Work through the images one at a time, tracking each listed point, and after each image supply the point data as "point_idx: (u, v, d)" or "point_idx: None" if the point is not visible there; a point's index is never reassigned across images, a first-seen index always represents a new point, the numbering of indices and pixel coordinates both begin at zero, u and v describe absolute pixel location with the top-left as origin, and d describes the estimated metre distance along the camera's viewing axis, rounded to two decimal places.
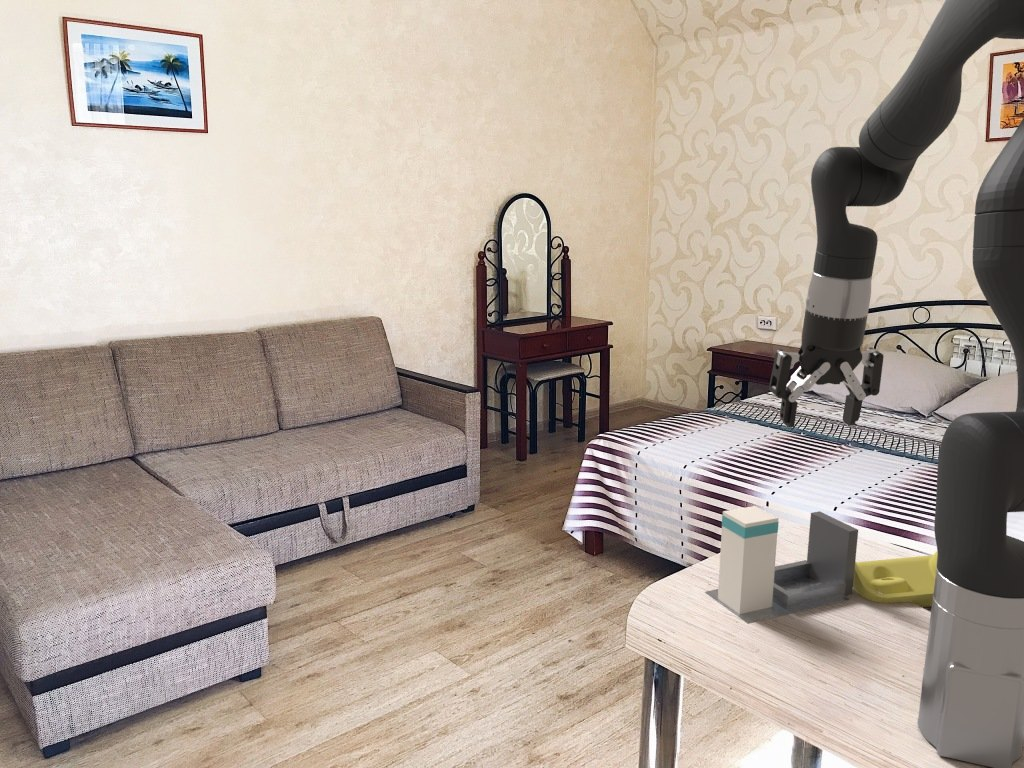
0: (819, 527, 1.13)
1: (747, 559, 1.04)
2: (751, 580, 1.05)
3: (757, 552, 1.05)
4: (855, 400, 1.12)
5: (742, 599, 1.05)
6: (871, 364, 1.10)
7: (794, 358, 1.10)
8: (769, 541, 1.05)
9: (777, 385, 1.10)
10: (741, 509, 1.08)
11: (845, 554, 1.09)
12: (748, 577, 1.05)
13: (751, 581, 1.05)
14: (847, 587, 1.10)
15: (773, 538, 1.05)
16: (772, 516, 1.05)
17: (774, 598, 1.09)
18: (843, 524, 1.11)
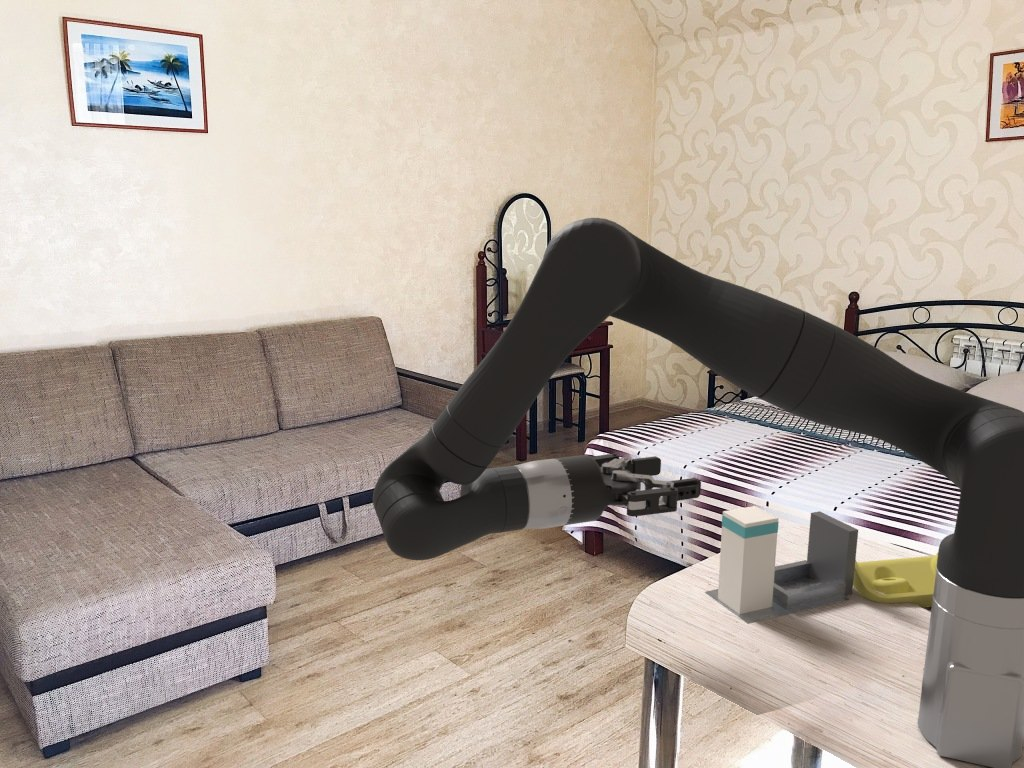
0: (819, 527, 1.13)
1: (747, 559, 1.04)
2: (751, 580, 1.05)
3: (757, 552, 1.05)
4: (633, 461, 1.03)
5: (742, 599, 1.05)
6: None
7: None
8: (769, 541, 1.05)
9: (666, 493, 0.92)
10: (741, 509, 1.08)
11: (845, 554, 1.09)
12: (748, 577, 1.05)
13: (751, 581, 1.05)
14: (847, 587, 1.10)
15: (773, 538, 1.05)
16: (772, 516, 1.05)
17: (774, 598, 1.09)
18: (843, 524, 1.11)
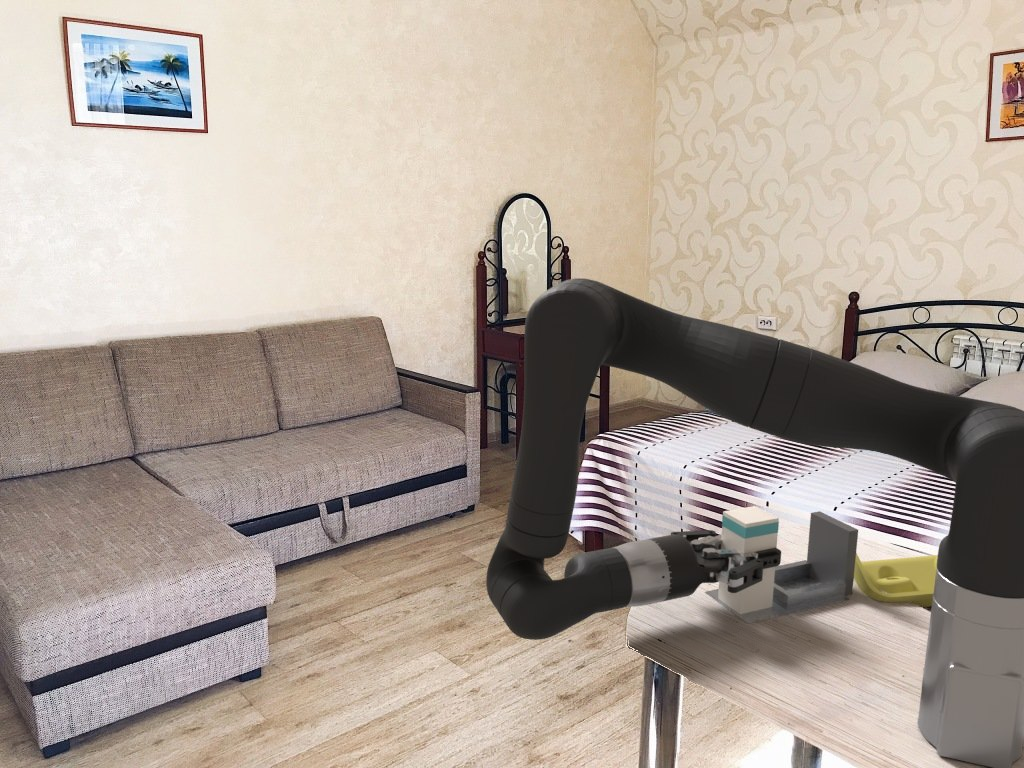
0: (819, 527, 1.13)
1: None
2: None
3: None
4: None
5: (742, 599, 1.05)
6: (684, 536, 1.09)
7: (724, 573, 1.00)
8: (769, 541, 1.05)
9: (756, 566, 1.01)
10: (741, 509, 1.08)
11: (845, 554, 1.09)
12: None
13: None
14: (847, 587, 1.10)
15: (773, 539, 1.05)
16: (772, 516, 1.05)
17: (774, 598, 1.09)
18: (843, 524, 1.11)
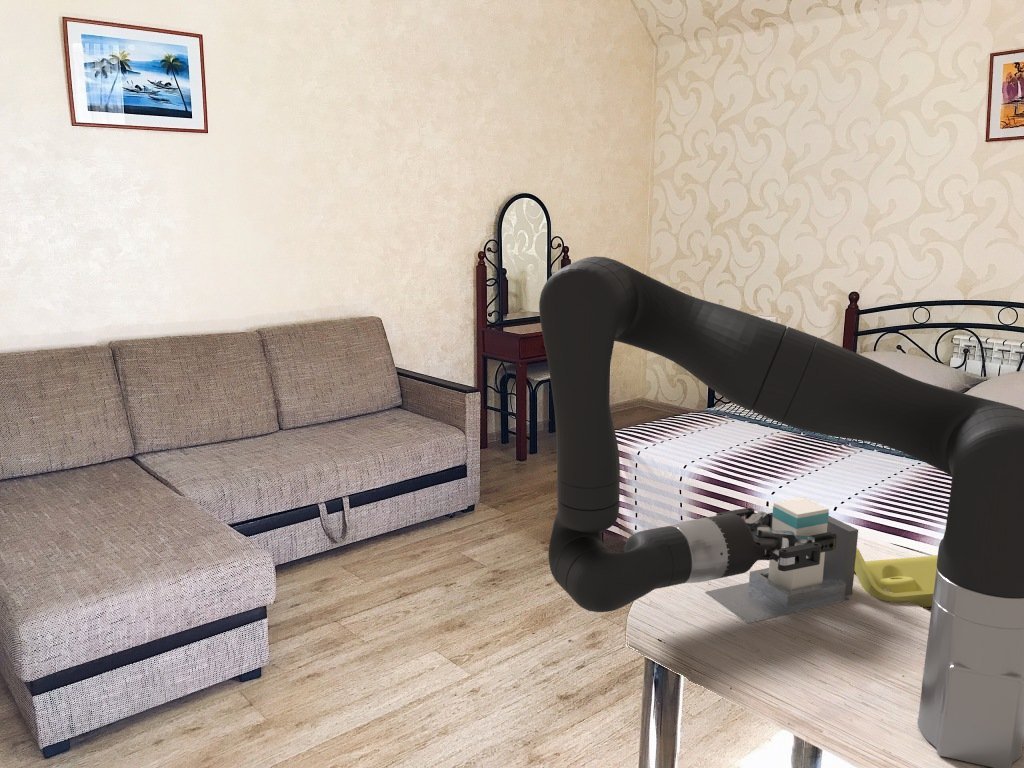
0: None
1: None
2: (802, 569, 1.08)
3: None
4: (769, 516, 1.12)
5: (793, 588, 1.08)
6: None
7: (777, 551, 1.02)
8: (820, 532, 1.08)
9: (812, 548, 1.02)
10: (791, 500, 1.11)
11: (845, 554, 1.09)
12: None
13: (802, 570, 1.08)
14: (847, 587, 1.10)
15: (823, 529, 1.08)
16: (822, 507, 1.08)
17: (774, 598, 1.09)
18: (843, 524, 1.11)
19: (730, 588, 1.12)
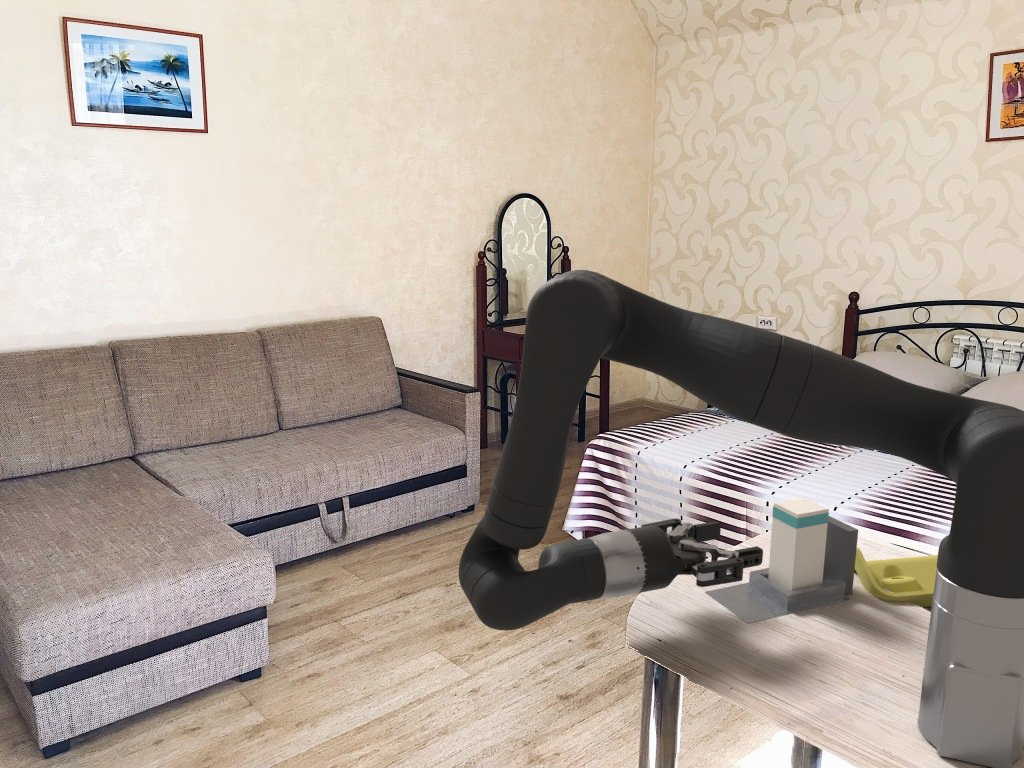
0: None
1: (798, 549, 1.07)
2: (802, 569, 1.08)
3: (808, 542, 1.08)
4: (695, 527, 1.08)
5: (793, 588, 1.08)
6: None
7: (697, 566, 0.98)
8: (820, 532, 1.08)
9: (733, 564, 0.97)
10: (791, 500, 1.11)
11: (845, 554, 1.09)
12: (799, 567, 1.08)
13: (802, 570, 1.08)
14: (847, 587, 1.10)
15: (823, 529, 1.08)
16: (822, 507, 1.08)
17: (774, 598, 1.09)
18: (843, 524, 1.11)
19: (730, 588, 1.12)
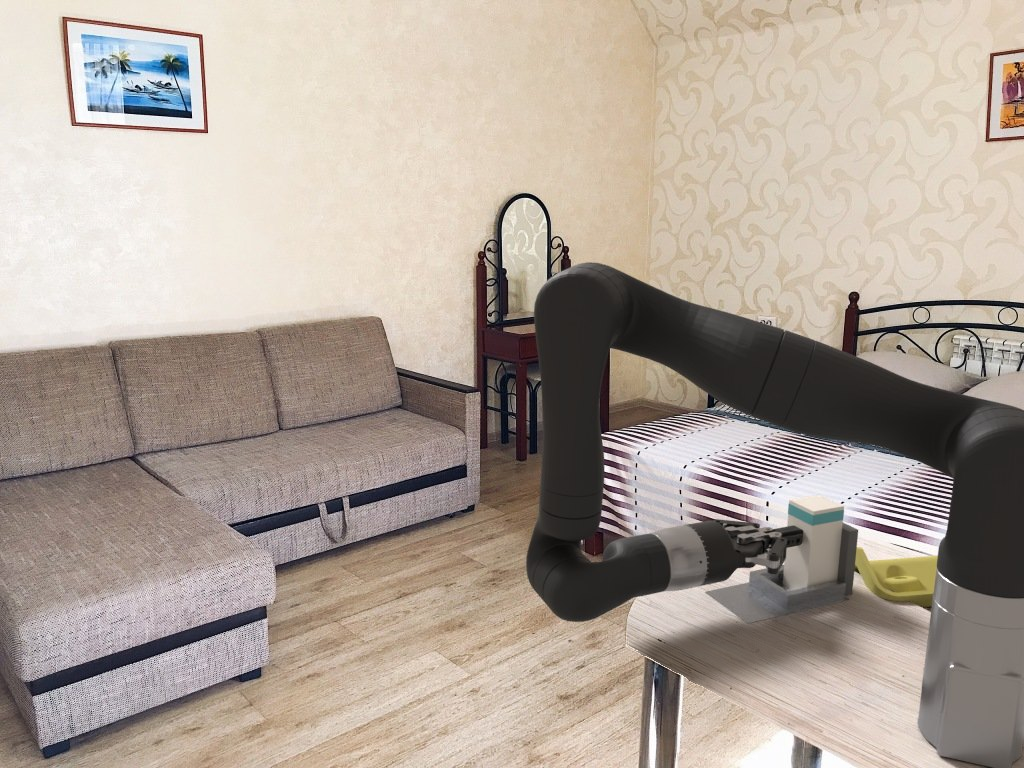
0: None
1: (814, 546, 1.08)
2: (818, 566, 1.09)
3: (823, 538, 1.09)
4: (775, 531, 1.08)
5: (808, 584, 1.09)
6: (724, 524, 1.10)
7: (762, 556, 1.02)
8: (835, 528, 1.09)
9: (785, 544, 1.04)
10: (806, 498, 1.12)
11: (845, 554, 1.09)
12: (814, 563, 1.09)
13: (817, 567, 1.09)
14: (847, 587, 1.10)
15: (838, 526, 1.09)
16: (838, 504, 1.09)
17: (774, 598, 1.09)
18: (843, 524, 1.11)
19: (730, 588, 1.12)
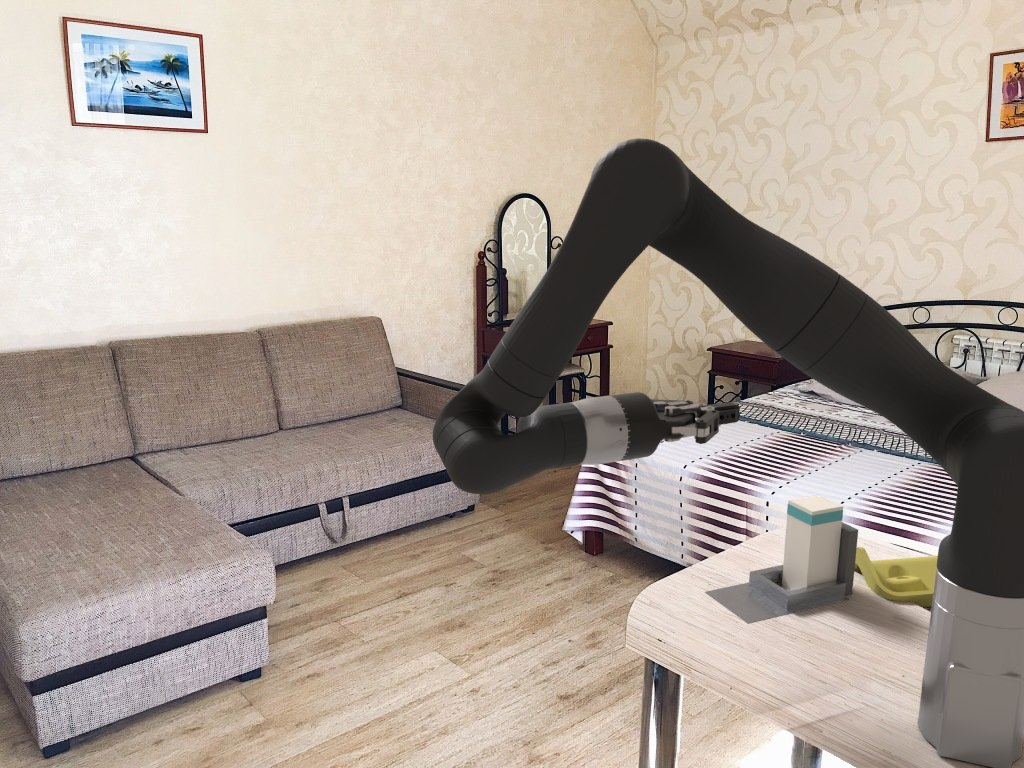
0: None
1: (813, 546, 1.08)
2: (817, 566, 1.09)
3: (823, 539, 1.09)
4: None
5: (808, 584, 1.09)
6: None
7: (690, 426, 0.94)
8: (834, 529, 1.09)
9: (716, 415, 0.96)
10: (805, 498, 1.12)
11: (845, 554, 1.09)
12: (813, 563, 1.09)
13: (816, 567, 1.09)
14: (847, 587, 1.10)
15: (837, 526, 1.09)
16: (837, 504, 1.09)
17: (774, 598, 1.09)
18: (843, 524, 1.11)
19: (730, 588, 1.12)
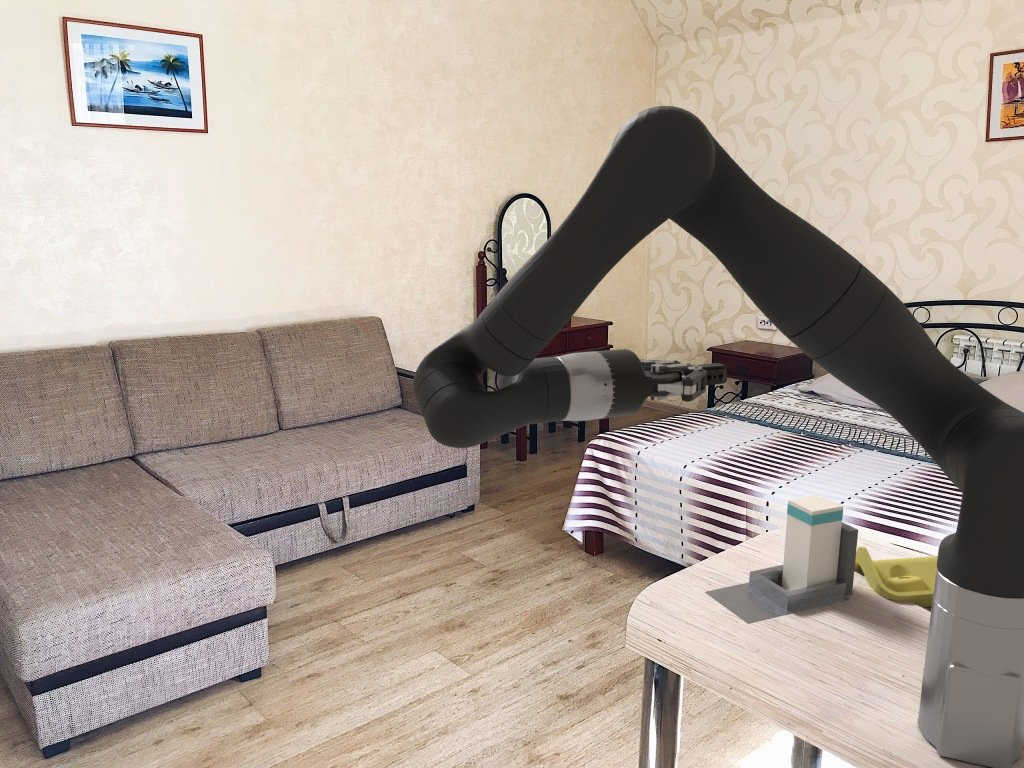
0: None
1: (813, 546, 1.08)
2: (817, 566, 1.09)
3: (823, 539, 1.09)
4: None
5: (808, 584, 1.09)
6: None
7: (676, 383, 0.93)
8: (834, 529, 1.09)
9: (703, 374, 0.95)
10: (805, 498, 1.12)
11: (845, 554, 1.09)
12: (813, 563, 1.09)
13: (816, 567, 1.09)
14: (847, 587, 1.10)
15: (837, 526, 1.09)
16: (837, 504, 1.09)
17: (774, 598, 1.09)
18: (843, 524, 1.11)
19: (730, 588, 1.12)
